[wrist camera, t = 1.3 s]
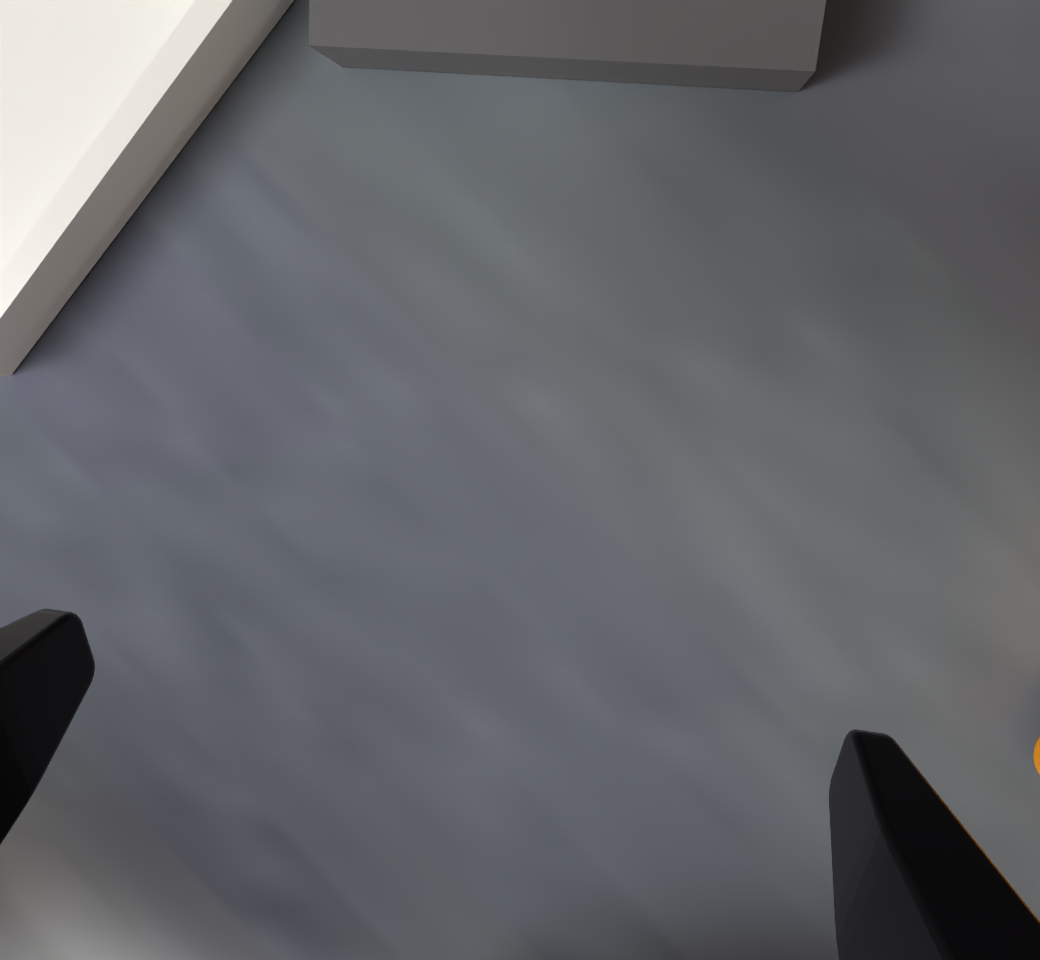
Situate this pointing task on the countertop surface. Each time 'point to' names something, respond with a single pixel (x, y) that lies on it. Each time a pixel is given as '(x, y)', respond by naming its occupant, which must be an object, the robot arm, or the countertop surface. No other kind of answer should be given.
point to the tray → (98, 129)
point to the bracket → (1037, 755)
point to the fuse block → (580, 39)
